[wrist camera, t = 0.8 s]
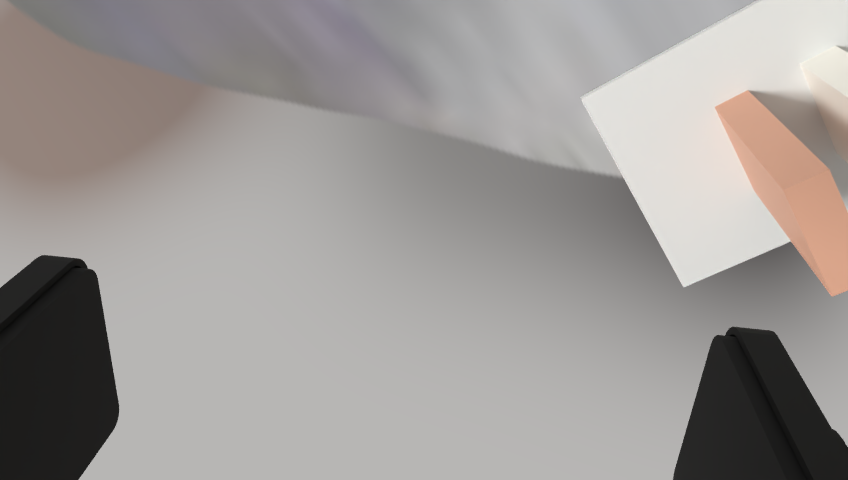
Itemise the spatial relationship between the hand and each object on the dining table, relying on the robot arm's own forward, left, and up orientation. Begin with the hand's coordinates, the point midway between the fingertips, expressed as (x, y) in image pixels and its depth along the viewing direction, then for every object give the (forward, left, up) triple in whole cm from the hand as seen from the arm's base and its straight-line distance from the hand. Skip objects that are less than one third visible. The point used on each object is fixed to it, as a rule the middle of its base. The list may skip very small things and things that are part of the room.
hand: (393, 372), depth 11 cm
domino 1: (-9, +11, -26) cm, 30 cm away
